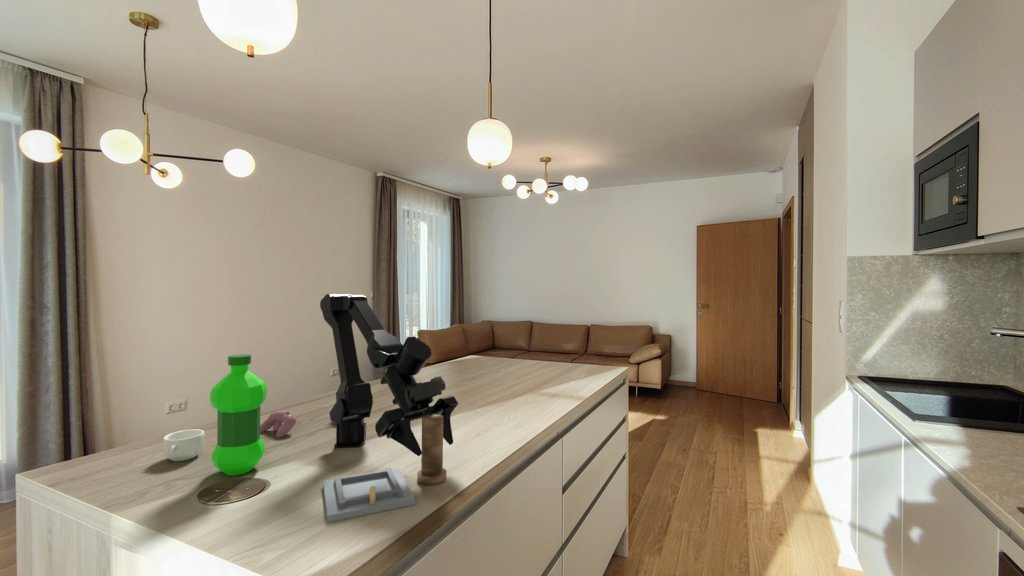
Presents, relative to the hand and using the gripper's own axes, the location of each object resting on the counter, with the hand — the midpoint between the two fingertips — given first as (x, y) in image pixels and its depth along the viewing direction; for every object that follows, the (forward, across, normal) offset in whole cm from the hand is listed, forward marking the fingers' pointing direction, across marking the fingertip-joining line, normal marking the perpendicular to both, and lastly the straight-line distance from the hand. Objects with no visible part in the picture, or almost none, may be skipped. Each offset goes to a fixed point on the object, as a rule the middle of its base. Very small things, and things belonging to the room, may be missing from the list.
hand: (436, 449), depth 92 cm
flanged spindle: (+4, 0, +6) cm, 7 cm away
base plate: (+1, -13, +8) cm, 15 cm away
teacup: (-33, -31, +42) cm, 62 cm away
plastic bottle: (-21, -25, +31) cm, 45 cm away
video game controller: (-35, -9, +45) cm, 57 cm away
